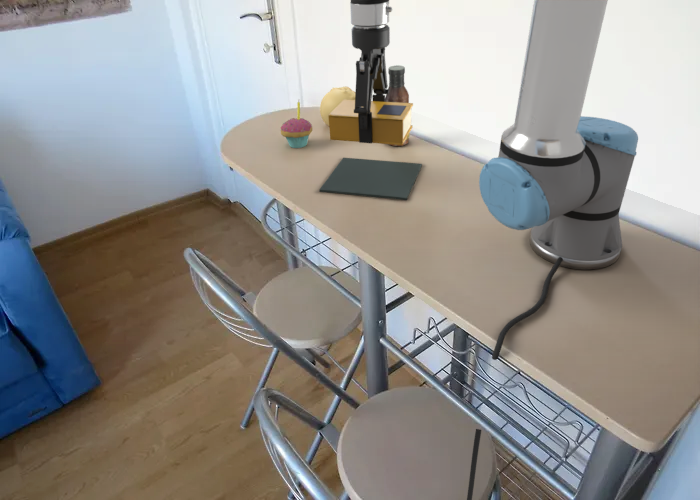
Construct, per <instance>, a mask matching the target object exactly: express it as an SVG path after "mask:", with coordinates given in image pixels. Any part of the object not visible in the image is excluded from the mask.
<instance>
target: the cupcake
mask: <svg viewBox="0 0 700 500" xmlns="http://www.w3.org/2000/svg"><path fill="white" fill-rule="evenodd" d="M297 100H298V102H297V103H296V104H297V112H296V113H297V118H295V117H293V118H290V119H288V120H287V121H284V122H282V125H281V126H280V135H281V136H282V137H283V138H285V140H286V141H287V143H288V145H289V147H290V148H293V149H302V148H304V147H306V146H307V145H308V141H309V137H310V135H311V133H312V132H313V124H312V123H311V122H310V121H309V120H308V119H305V118H304V117H303V118H301V102H300V99H297Z"/></svg>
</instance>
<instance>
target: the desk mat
mask: <svg viewBox="0 0 700 500" xmlns="http://www.w3.org/2000/svg"><path fill="white" fill-rule="evenodd" d="M422 167H423V163H417V162H404V161H391V160H379V159H367V158H366V159H365V158H356V157H355V158H352V157H342V159H341V160H340V161H339V162H338V164H337V165H336V166H335V168H333V169H334V170H332V171H331V173H330V174H329V176H328V177H327V179H326V180H325V181H324V183H323V184H322V185H321V187H320V188H319V189H318V190H319V192H320V193H328V194H329V193H330V194H338V195H339V194H340V195H348V196H349V195H350V196H360V197H371V198H378V199H379V198H380V199H389V200H390V199H391V200H401V201H407V200H408V199H409V195H410V194H411V193H412V192H411V191H412V189H413V187H414V185H415V182H416V181H417V178H418V176H419V174H420V171H421V169H422Z"/></svg>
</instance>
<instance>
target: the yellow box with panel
mask: <svg viewBox="0 0 700 500" xmlns="http://www.w3.org/2000/svg"><path fill="white" fill-rule="evenodd" d="M413 106H414V103H413V102H409V103H399V102H379V101H373V100H371V109H370V112H372V140H373V142H372V143H371V144H381V145H382V144H383V145H389V144H394V145H403V143H404V142H405V140H406V138H407V136H408V134H409V135H410V133H411V131H412V129H413V125H412V108H413ZM354 109H355V100H343V101H342V102H341V103H340V104H339V105H338V106H337V107H336V108H335V109H334V110H333V111H332V112H331V113H330V114H329V115H328V116H329V126H328V128H329V129H328V130H329V140H330V141H342V142H355V143H356V142H357V143H359V120H358V113H354ZM403 146H404V145H403Z"/></svg>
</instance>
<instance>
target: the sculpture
mask: <svg viewBox="0 0 700 500" xmlns="http://www.w3.org/2000/svg"><path fill="white" fill-rule="evenodd" d="M355 92H356V91H355V90H352V89H351V87H349V86H341V87H332V88H331V89H330V90H329V91H328V92H327V93H325V95H323V97H322V99H321V101H320V105H319V113H320V116H321V119H322V121H323V122H324V124H325V125H326V126H328V127H329V116H328V115H329V114H330V113H331V112H332V111H333V110H334V109H335V108H336V107H337V106H338V105H339V104H340V103H341V102H342V101H343V100H355Z"/></svg>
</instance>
